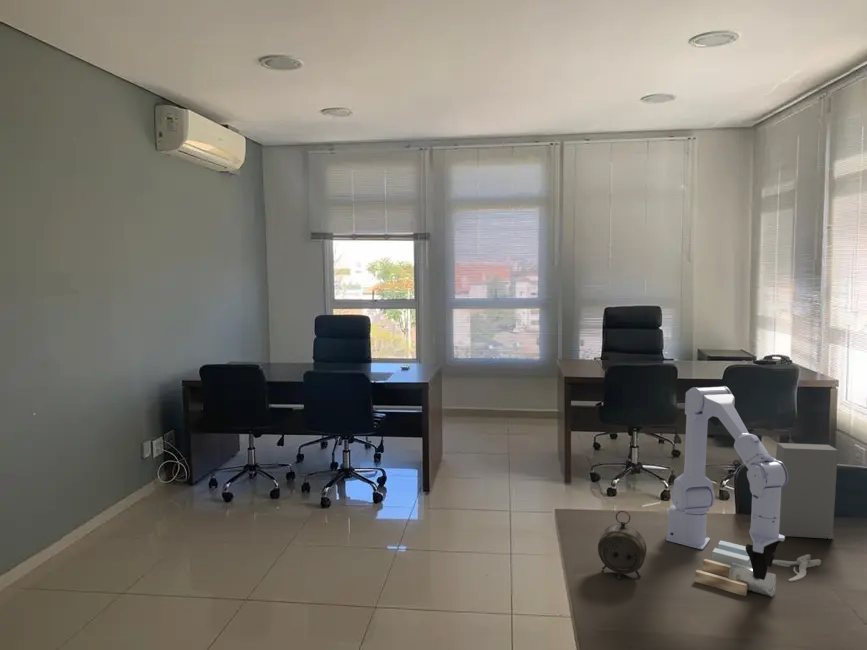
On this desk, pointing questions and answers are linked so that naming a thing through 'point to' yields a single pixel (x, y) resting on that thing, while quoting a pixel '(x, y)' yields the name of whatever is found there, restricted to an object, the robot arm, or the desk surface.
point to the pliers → (803, 562)
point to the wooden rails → (719, 577)
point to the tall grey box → (808, 490)
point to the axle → (753, 579)
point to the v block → (731, 554)
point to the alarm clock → (622, 549)
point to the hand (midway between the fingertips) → (762, 571)
